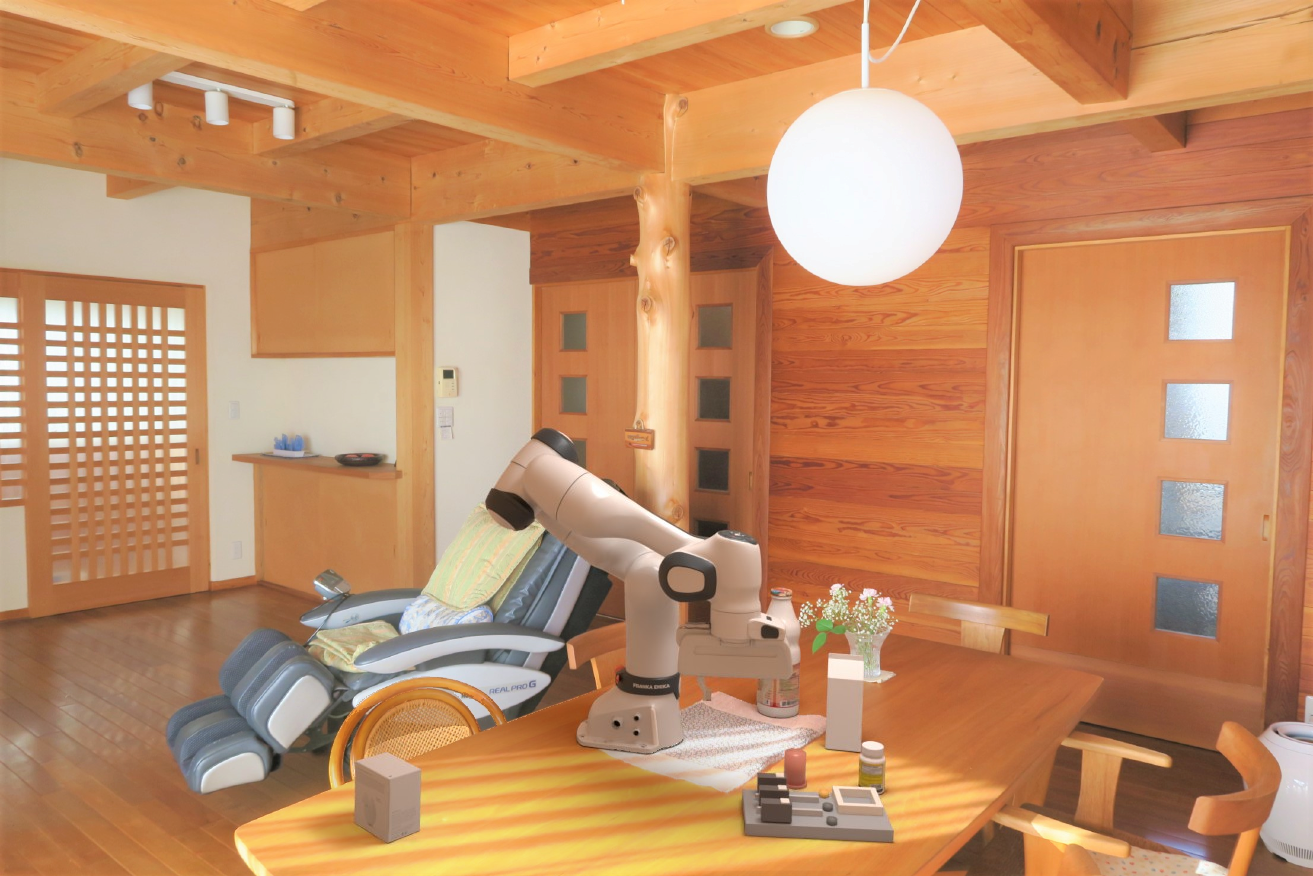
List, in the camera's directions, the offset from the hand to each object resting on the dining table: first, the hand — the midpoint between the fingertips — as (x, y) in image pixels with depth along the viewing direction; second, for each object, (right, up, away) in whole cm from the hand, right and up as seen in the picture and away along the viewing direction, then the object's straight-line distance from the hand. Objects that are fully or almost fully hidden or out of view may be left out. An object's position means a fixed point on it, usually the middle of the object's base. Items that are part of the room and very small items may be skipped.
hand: (733, 701), depth 162 cm
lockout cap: (+12, -18, +9) cm, 23 cm away
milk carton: (+25, -17, +28) cm, 41 cm away
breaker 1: (+7, -16, 0) cm, 18 cm away
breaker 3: (+6, -17, -10) cm, 21 cm away
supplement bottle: (+26, -19, +7) cm, 33 cm away
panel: (+13, -19, -5) cm, 24 cm away
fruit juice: (+14, -16, +47) cm, 51 cm away
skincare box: (-58, -18, -11) cm, 62 cm away
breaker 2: (+6, -17, -5) cm, 18 cm away
